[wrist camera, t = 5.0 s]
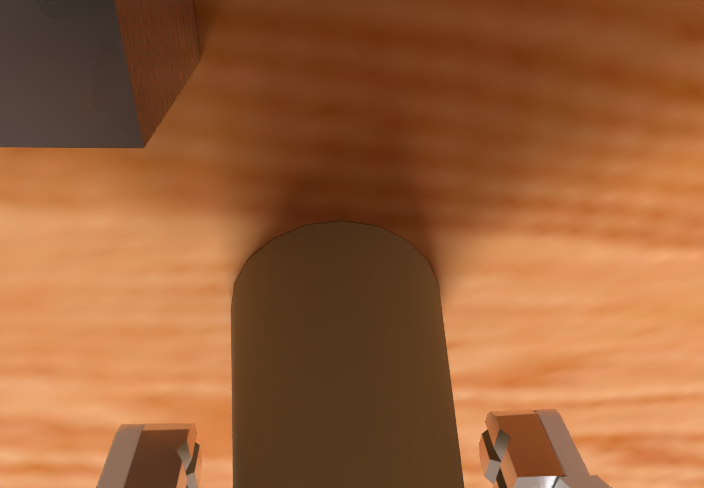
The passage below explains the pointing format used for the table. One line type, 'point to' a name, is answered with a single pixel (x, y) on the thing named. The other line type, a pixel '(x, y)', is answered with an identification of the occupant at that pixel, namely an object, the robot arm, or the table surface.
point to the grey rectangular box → (92, 70)
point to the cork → (341, 365)
